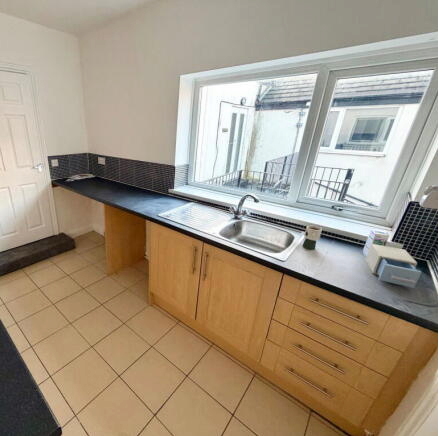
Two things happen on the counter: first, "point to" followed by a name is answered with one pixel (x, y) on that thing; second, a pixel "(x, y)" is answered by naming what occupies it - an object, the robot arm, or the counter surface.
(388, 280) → the drawer
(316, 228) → the character mug
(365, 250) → the syrup box
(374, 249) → the compartment unit
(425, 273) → the counter surface
